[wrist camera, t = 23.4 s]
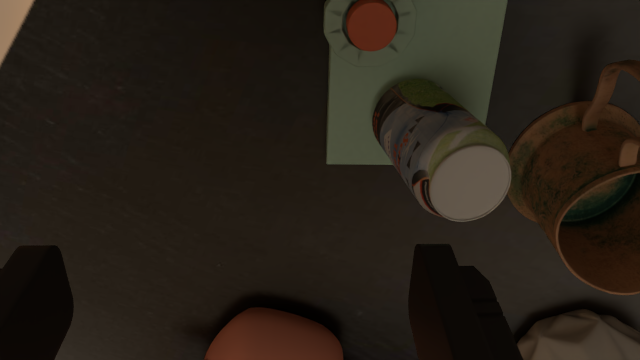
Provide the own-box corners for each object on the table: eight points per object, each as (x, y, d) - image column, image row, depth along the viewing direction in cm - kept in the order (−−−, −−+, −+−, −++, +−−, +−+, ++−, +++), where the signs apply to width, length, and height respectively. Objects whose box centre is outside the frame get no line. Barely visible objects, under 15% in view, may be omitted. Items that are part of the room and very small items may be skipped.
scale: (323, -36, 40) (325, -27, 37) (504, -32, 40) (520, -23, 37) (319, 153, 47) (320, 174, 44) (471, 154, 47) (483, 175, 44)
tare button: (347, -4, 38) (348, 1, 36) (395, -3, 38) (399, 2, 37) (344, 44, 39) (346, 51, 38) (391, 45, 39) (394, 52, 38)
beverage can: (357, 93, 42) (376, 171, 32) (453, 53, 41) (505, 121, 31) (387, 162, 45) (413, 254, 35) (477, 126, 44) (532, 211, 34)
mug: (655, 10, 42) (773, 62, 31) (639, 210, 51) (726, 303, 40) (496, 42, 43) (559, 103, 32) (506, 234, 51) (558, 331, 41)
